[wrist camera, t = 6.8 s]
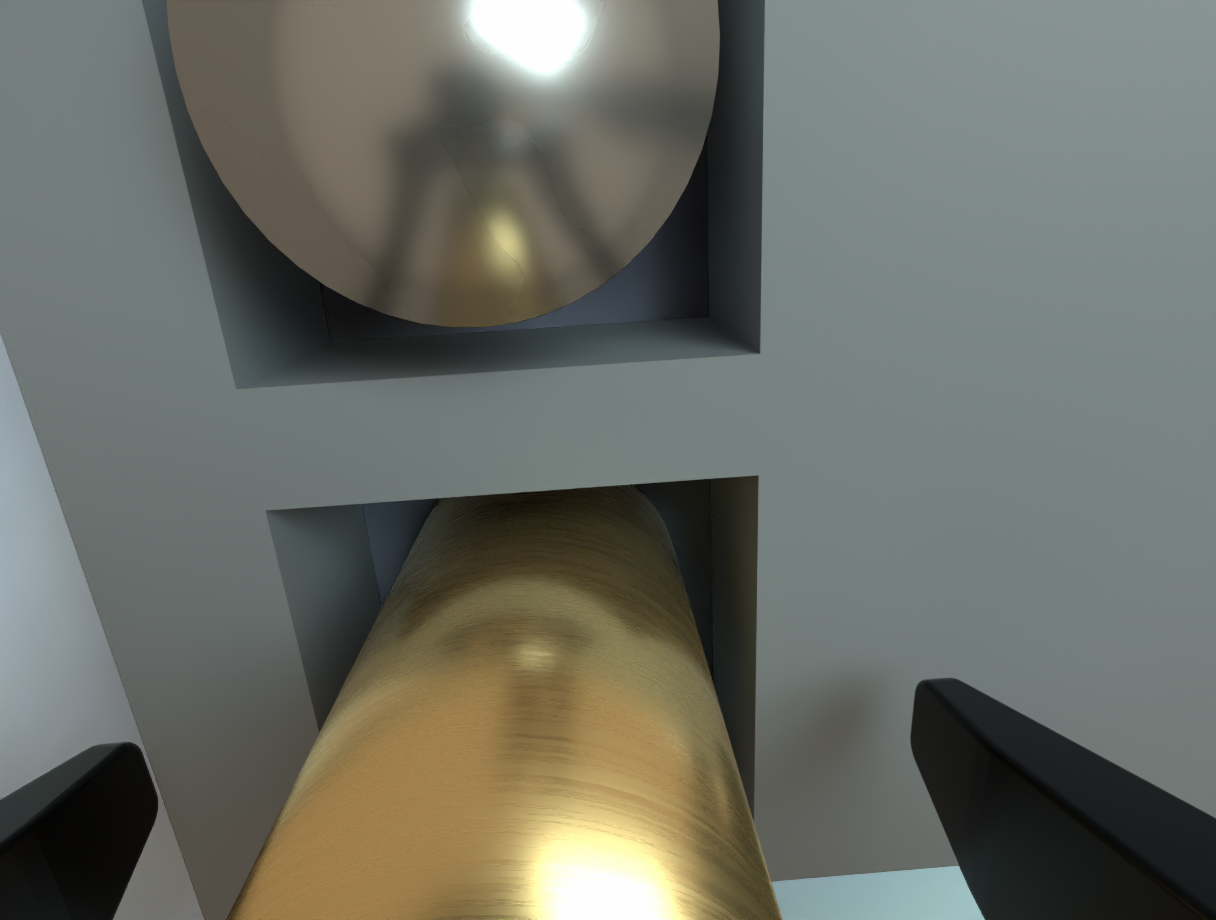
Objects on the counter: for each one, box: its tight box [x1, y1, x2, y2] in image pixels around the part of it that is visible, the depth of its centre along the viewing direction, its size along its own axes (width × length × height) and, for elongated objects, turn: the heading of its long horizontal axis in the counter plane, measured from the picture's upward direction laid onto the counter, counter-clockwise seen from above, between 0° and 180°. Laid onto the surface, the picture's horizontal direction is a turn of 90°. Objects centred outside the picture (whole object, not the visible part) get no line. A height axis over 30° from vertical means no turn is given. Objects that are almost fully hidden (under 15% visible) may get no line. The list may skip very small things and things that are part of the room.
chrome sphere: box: [167, 0, 720, 327], centre depth 7 cm, size 4×4×4 cm
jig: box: [0, 0, 1216, 920], centre depth 9 cm, size 18×14×3 cm
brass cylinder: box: [226, 484, 782, 920], centre depth 8 cm, size 4×4×8 cm
